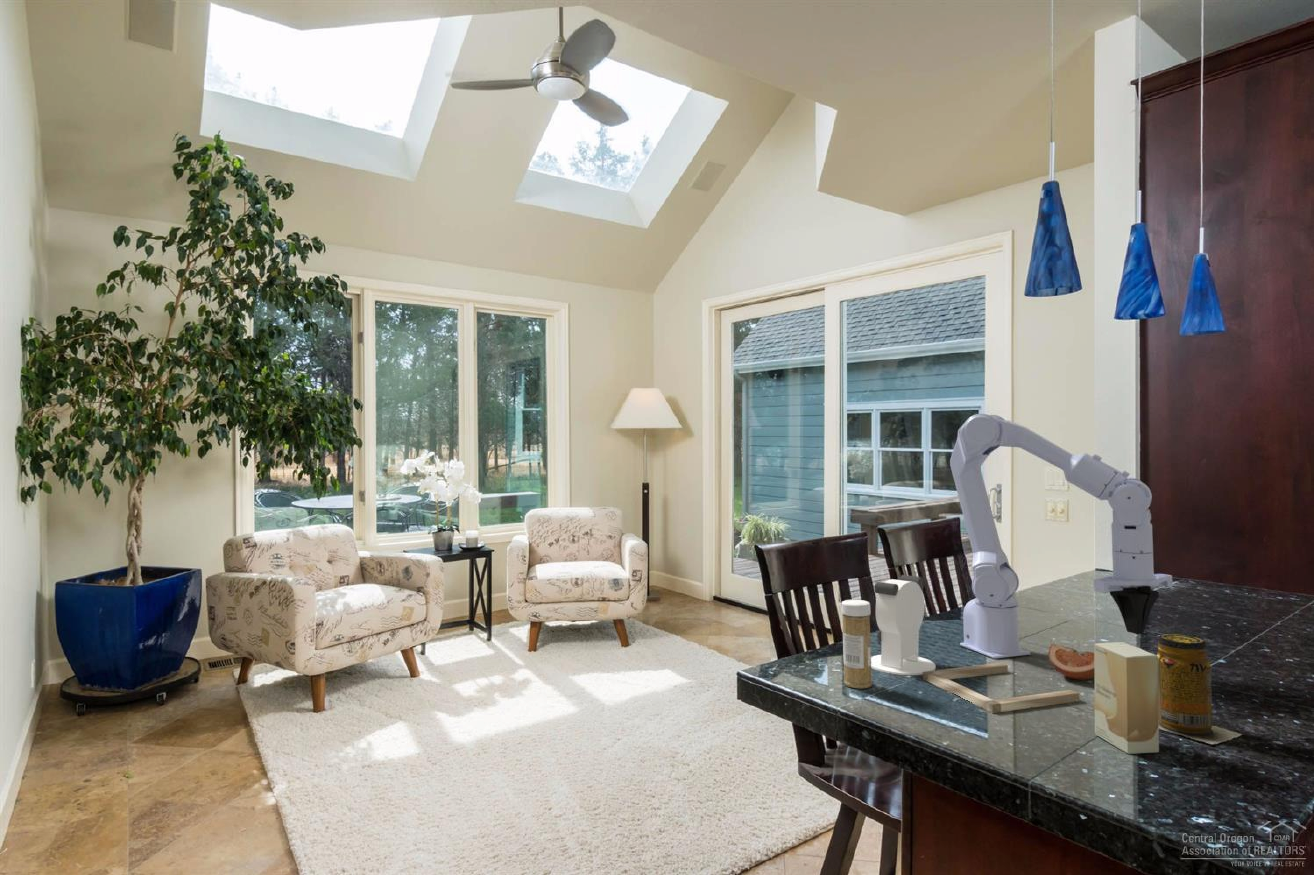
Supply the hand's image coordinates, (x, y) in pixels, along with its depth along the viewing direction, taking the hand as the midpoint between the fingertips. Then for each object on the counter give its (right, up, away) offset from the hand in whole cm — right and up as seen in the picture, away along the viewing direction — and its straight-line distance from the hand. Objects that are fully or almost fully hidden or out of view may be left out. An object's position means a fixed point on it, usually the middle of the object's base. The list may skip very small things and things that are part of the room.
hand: (1135, 632), depth 120 cm
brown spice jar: (-48, -8, -4) cm, 48 cm away
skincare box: (-20, -7, -28) cm, 36 cm away
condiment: (-9, -7, -24) cm, 27 cm away
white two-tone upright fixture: (-37, -8, +6) cm, 38 cm away
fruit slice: (-12, -7, -3) cm, 14 cm away
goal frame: (-26, -7, -7) cm, 28 cm away
